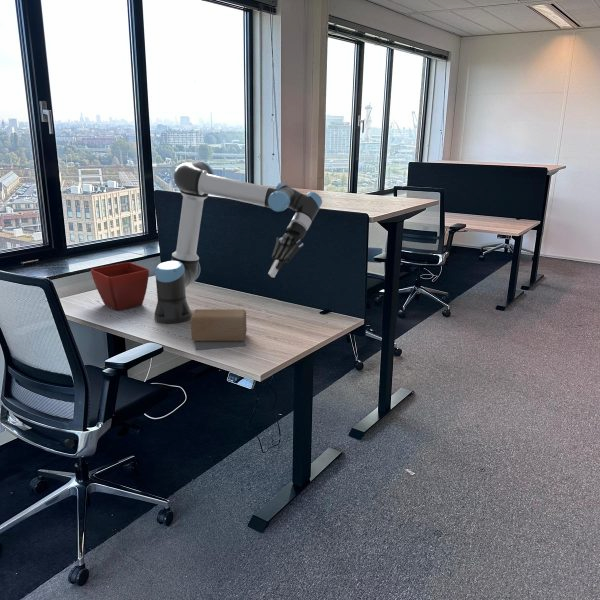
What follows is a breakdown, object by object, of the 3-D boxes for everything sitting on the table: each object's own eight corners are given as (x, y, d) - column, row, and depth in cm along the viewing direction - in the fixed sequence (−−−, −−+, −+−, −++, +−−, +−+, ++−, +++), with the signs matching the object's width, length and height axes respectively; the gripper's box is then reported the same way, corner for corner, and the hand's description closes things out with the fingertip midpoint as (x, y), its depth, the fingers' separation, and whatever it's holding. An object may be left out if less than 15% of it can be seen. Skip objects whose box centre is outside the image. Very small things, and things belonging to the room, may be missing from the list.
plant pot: (113, 314, 229) (109, 277, 224) (93, 304, 242) (89, 268, 237) (152, 305, 242) (149, 269, 237) (132, 296, 255) (129, 262, 250)
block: (244, 317, 196) (189, 317, 196) (244, 342, 199) (191, 342, 199) (246, 308, 206) (194, 308, 206) (246, 332, 209) (195, 332, 209)
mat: (196, 350, 193) (196, 349, 193) (193, 338, 204) (193, 337, 204) (245, 345, 197) (245, 344, 197) (240, 334, 208) (240, 333, 208)
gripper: (315, 234, 211) (288, 283, 204) (290, 230, 219) (263, 277, 211) (307, 222, 205) (279, 273, 198) (281, 219, 213) (253, 267, 206)
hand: (271, 275), depth 205 cm, fingers closed
